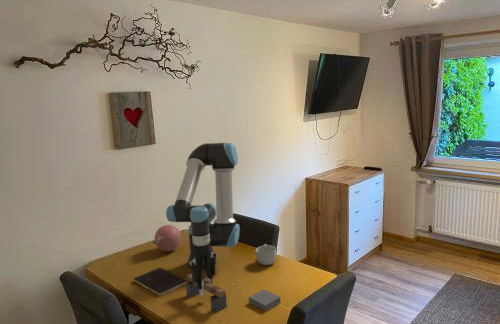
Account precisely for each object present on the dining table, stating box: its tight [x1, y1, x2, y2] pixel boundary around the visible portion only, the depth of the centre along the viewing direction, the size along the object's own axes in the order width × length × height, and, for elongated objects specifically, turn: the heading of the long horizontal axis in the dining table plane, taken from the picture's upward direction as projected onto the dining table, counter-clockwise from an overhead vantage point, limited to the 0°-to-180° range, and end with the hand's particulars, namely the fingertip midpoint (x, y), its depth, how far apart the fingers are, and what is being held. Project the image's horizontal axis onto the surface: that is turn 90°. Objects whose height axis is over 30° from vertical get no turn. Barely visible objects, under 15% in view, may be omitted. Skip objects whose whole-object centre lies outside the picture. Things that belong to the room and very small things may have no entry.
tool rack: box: [185, 281, 228, 314], centre depth 168 cm, size 21×6×6 cm, turn 44°
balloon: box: [151, 224, 182, 252], centre depth 223 cm, size 15×20×15 cm
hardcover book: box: [133, 267, 189, 296], centre depth 188 cm, size 16×23×2 cm
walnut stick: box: [186, 272, 226, 298], centre depth 167 cm, size 24×2×2 cm, turn 44°
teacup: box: [254, 243, 277, 266], centre depth 204 cm, size 14×11×8 cm
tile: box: [248, 288, 281, 312], centre depth 164 cm, size 3×9×10 cm
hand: (205, 293), depth 168 cm, fingers open, 3 cm apart
